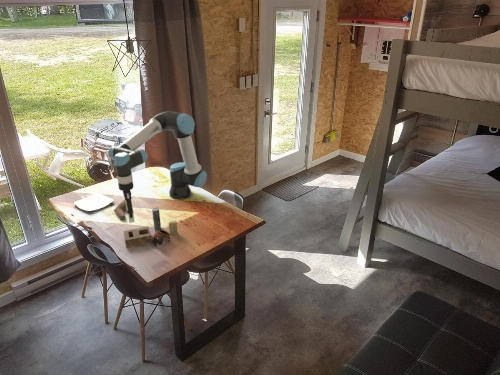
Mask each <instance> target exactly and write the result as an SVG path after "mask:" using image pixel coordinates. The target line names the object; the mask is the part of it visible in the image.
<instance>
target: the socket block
mask: <svg viewBox="0 0 500 375" xmlns="http://www.w3.org/2000/svg"><path fill="white" fill-rule="evenodd" d="M123 236H124V242H125V247H126V249H128V248H133V247H138V246H144V245H148V244H152V239H153V237H152V234H151V231H150V227H149V226H144V227H139V228H131V229H126V230H123Z"/></svg>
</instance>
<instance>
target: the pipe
mask: <svg viewBox="0 0 500 375" xmlns="http://www.w3.org/2000/svg"><path fill="white" fill-rule="evenodd" d="M124 211H127V210H126V203H125V199H124V200H122V201H121V202H120V203H119V204H118V205H117V206H116V207H115V208H114V209H113V212H114V213H115V214H116V215H117V216H118V218H119V219H120V220H121V221H123V220H125V219H126V217H127V216H126V214H125V212H124Z"/></svg>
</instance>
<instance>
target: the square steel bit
mask: <svg viewBox="0 0 500 375" xmlns="http://www.w3.org/2000/svg"><path fill="white" fill-rule="evenodd" d="M151 211H152V221H153V229H154V232H157V231H158V230H162V226H161V225H162V224H161V215H160V208H159V206H156V207H151Z"/></svg>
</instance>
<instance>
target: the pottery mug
mask: <svg viewBox="0 0 500 375" xmlns="http://www.w3.org/2000/svg"><path fill="white" fill-rule="evenodd" d="M170 236H171V235H170V232H168V231H166V230H163V229H161V230H158V231H155V233H154V234H153V236H152V243H151V244H152V245H154V246H155V247H157V246H162V245H163V242H164V240H165V239H168V242H170V239H171V238H170Z"/></svg>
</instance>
